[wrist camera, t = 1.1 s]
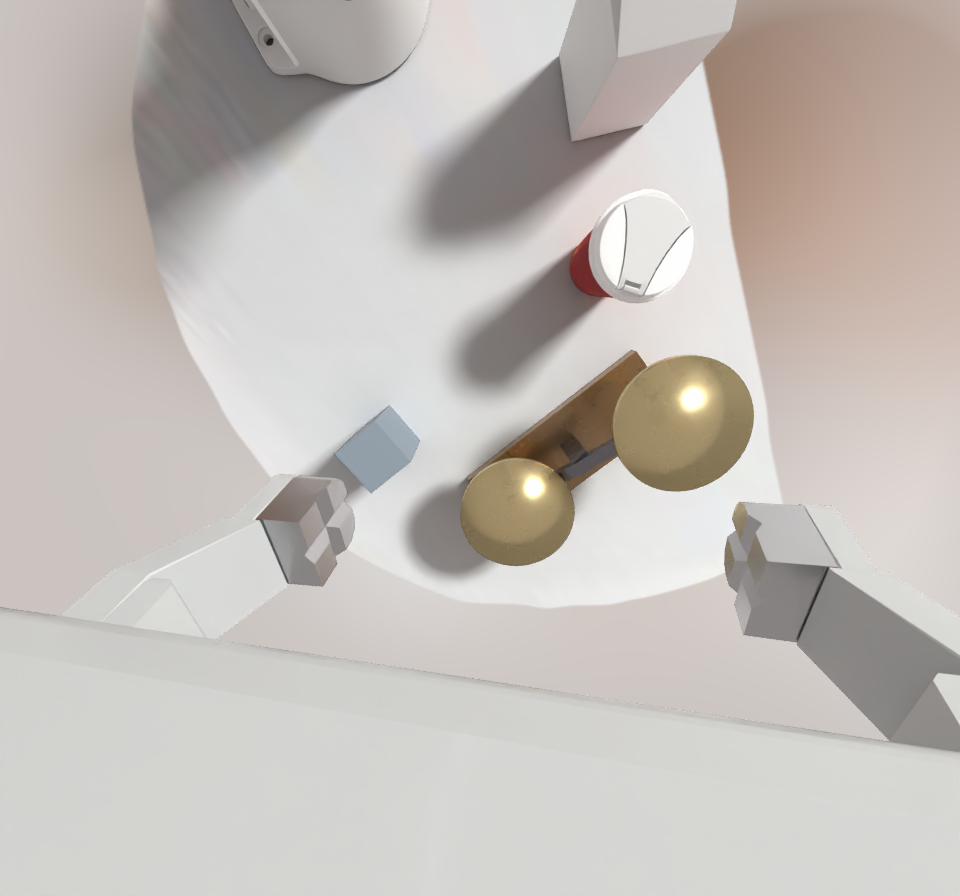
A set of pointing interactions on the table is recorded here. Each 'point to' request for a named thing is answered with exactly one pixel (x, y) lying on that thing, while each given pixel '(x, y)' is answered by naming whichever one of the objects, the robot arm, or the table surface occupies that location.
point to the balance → (608, 450)
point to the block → (379, 449)
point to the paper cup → (634, 249)
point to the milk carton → (633, 57)
